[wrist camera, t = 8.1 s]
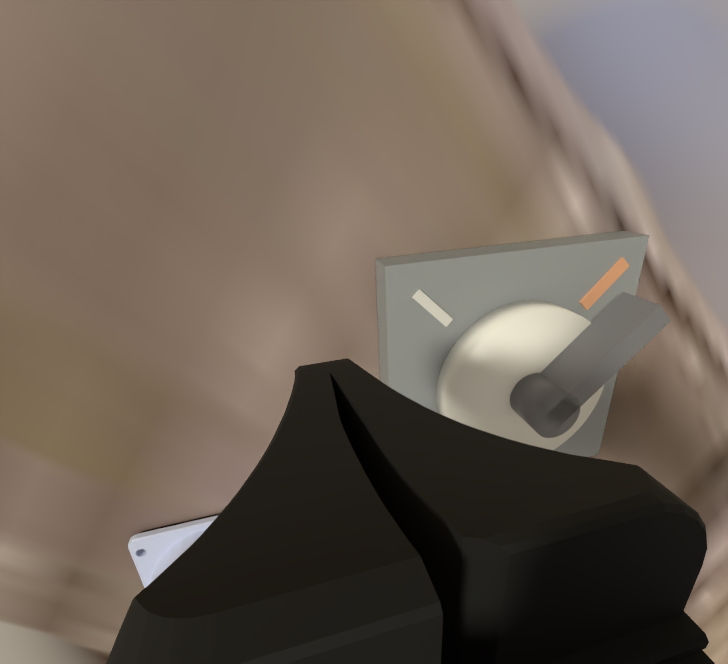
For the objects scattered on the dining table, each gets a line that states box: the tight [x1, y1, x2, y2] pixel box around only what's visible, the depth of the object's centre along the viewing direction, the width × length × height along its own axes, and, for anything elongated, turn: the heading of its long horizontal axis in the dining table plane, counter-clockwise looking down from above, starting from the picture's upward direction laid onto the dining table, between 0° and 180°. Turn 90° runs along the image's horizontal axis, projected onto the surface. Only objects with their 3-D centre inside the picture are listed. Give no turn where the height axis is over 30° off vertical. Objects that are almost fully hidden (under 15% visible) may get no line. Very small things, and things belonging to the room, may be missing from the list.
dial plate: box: [376, 231, 649, 457], centre depth 23 cm, size 14×14×2 cm
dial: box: [436, 292, 670, 450], centre depth 20 cm, size 11×9×4 cm
